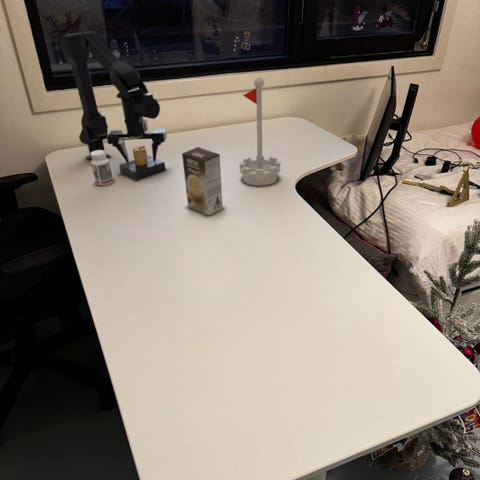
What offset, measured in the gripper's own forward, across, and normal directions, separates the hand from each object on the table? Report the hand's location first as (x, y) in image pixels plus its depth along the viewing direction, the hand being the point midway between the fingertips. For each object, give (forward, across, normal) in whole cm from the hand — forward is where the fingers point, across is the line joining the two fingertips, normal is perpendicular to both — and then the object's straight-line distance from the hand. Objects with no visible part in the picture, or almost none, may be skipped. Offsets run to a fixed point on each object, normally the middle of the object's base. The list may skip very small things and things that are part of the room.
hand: (141, 162), depth 158 cm
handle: (0, 0, 0) cm, 0 cm away
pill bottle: (+4, +11, +8) cm, 14 cm away
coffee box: (+4, -24, +30) cm, 38 cm away
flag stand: (+4, -40, +9) cm, 41 cm away
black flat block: (+3, 0, 0) cm, 3 cm away
